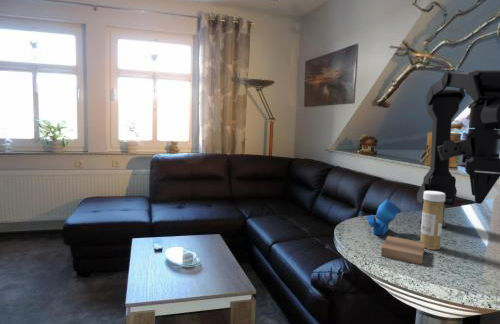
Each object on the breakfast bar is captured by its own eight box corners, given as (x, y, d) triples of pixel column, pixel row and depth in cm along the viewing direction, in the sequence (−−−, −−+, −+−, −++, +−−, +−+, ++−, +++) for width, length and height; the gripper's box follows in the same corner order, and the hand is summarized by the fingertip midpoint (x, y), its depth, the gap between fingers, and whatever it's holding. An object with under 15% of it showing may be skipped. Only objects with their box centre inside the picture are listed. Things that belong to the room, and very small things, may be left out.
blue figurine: (363, 210, 85) (373, 192, 94) (362, 239, 88) (373, 219, 97) (393, 215, 81) (401, 196, 90) (392, 245, 84) (400, 224, 93)
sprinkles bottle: (444, 250, 77) (450, 194, 76) (427, 250, 77) (432, 194, 75) (431, 243, 82) (436, 190, 80) (414, 243, 81) (419, 190, 80)
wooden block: (387, 243, 80) (387, 235, 80) (424, 250, 76) (424, 242, 76) (381, 256, 73) (381, 247, 73) (421, 264, 69) (422, 255, 68)
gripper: (441, 127, 83) (436, 188, 85) (441, 128, 67) (434, 202, 69) (495, 129, 78) (488, 193, 80) (509, 129, 62) (499, 210, 64)
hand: (476, 199), depth 73 cm, fingers open, 9 cm apart
